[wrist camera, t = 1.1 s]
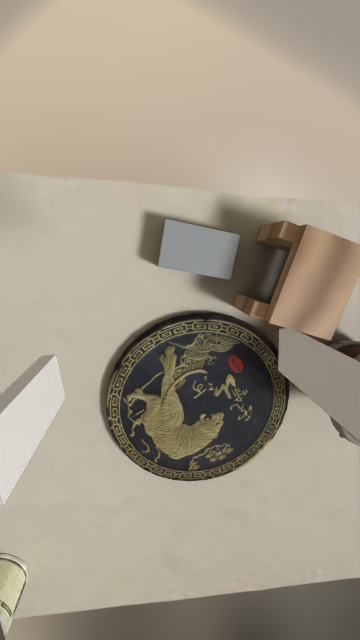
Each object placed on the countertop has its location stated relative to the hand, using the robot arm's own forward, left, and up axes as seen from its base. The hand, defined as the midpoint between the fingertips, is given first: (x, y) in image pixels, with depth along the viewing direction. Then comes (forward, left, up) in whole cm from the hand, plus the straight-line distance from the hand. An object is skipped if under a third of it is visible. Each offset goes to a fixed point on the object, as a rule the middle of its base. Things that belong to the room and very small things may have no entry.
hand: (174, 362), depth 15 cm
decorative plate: (+11, -14, -24) cm, 30 cm away
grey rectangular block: (+3, +8, -23) cm, 25 cm away
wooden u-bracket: (+16, +8, -23) cm, 29 cm away
